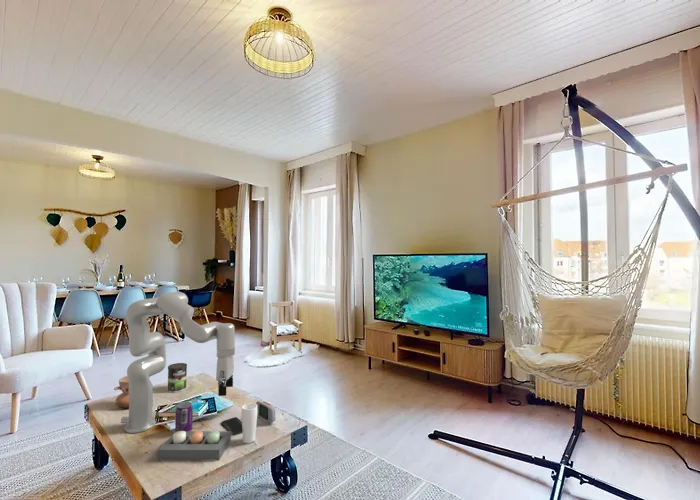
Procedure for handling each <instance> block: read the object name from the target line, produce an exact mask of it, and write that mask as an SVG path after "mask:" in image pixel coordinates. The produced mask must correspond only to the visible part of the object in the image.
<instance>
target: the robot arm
mask: <svg viewBox="0 0 700 500" xmlns="http://www.w3.org/2000/svg"><path fill="white" fill-rule="evenodd" d="M188 303H189V297H188V295H187V294H185V293H184V292H181V291H173V292H166V293H163V294H161V295H160V296H158V297H157V296H156V297H150V298H145V299H140V300H136V301H135V302H131V303H130V304H129V306H128V307H127V309H126V311H125V319H126V323H127V328H128V341H129V342H128V345H129V352H130V354H131V356H133V357H136V358H137V357H141V358H138V359H136V360H134V361H132V362H131V363H130V364H129V366H128V367H127V370H126V376H128V381H129V407H128V416H122V417H121V419H120V424H125V426H124V431H125V432H126V433H128V434H135V433H136V434H137V433H143V432H144V431H145V432H146V431H148V430H151V429H152V428H153V427H155V425H156V424H157V421H155V420H156V418H153V405H154V404H153V401H154V400H153V399H154V390H153V389H154V388H153V383H152V381H151V380H150V377H152V376H154V375H157V374H158V373H159V374H160V373H161V372H162V371H163V370H165V368H166V365H167V355H166V354H167V353H166V352H167V351H166V340H165V337H164V336H163V335H162V333H160V332H158V331H151V330H150V328H151V327H150V323H149V322H148V320H147V319H146V318H149V317H154V316H155V317H156V316H159V315H167V316H169V317H170V318H172V319H174V321H176V322H177V323H179V327H180V329H181V332H182V334H184V336H185V337H187V338H188V339H190V340H192V341H194V342H195V343H198V344H205V343H208V342H210V341H213V340H216V357H217V360H216V375H215V376H216V378H215V380H216V381H217V385H218V386H217V387H218V389H217V390H218V391H217V392H218V395H217V396H218V397H224V396H225V397H226V396H227V388H232V387H233V386H234V375H233V374H234V370H235V369H234V366H235V365H234V356H235V354H236V353H235V352H236V351H235V350H236V348H235V347H236V346H235V345H236V344H235V343H236V342H235V341H236V340H235V338H236V337H235V334H236V333H235V330H236V329H235V324H233V323H231V322H227V323H223V322H220V321H211V322H208V323H204V324H199V323H197V322H196V321H195V320H193V319H192V317H193V316H194V314H195V309H194V307H193V306H192V305H189V304H188ZM150 331H151V332H150ZM146 355H147V356H146ZM142 356H144V357H142ZM155 423H156V424H155Z"/></svg>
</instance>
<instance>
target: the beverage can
mask: <svg viewBox="0 0 700 500" xmlns="http://www.w3.org/2000/svg"><path fill="white" fill-rule="evenodd" d="M193 409H194V407H193V405H192V402H191V401H183V402H181V403H180V402H179V403H178V404H177V405H176V408H175V418H174V419H175V422H174V423H175V426H174V427H175V429H174V430H175V431H192V430H193V417H194V415H193ZM175 431H174V432H175Z"/></svg>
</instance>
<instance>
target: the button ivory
mask: <svg viewBox="0 0 700 500" xmlns="http://www.w3.org/2000/svg"><path fill="white" fill-rule="evenodd" d="M172 435H173V444H184V442H185V441H186V432H185V431H178V432H176V433H172Z"/></svg>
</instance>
